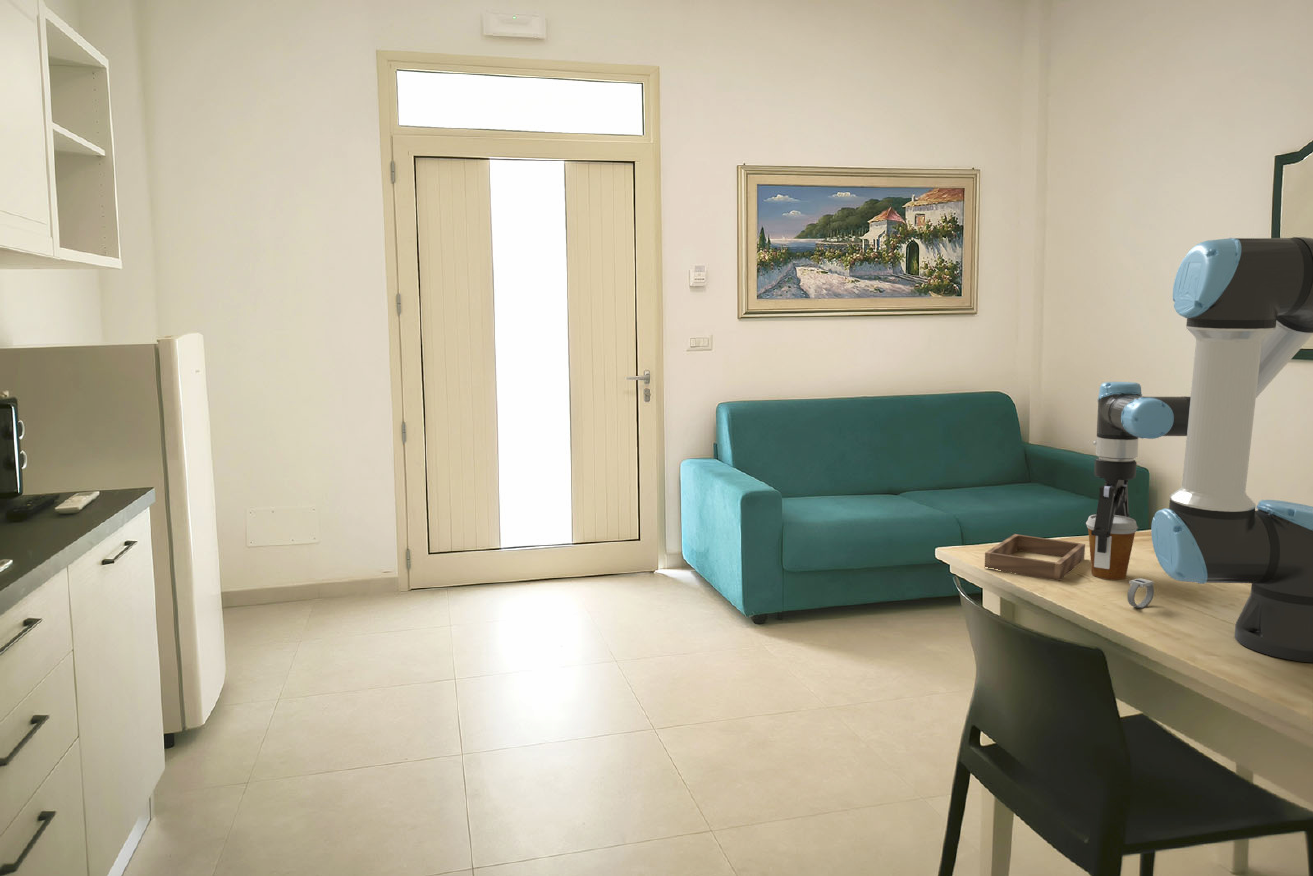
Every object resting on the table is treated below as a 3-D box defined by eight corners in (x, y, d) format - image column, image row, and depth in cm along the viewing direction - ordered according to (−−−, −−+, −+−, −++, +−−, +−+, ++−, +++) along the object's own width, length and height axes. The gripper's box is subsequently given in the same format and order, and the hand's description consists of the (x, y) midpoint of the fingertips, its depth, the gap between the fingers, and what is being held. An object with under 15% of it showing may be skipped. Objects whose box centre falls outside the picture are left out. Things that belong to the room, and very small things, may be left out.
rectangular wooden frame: (1059, 581, 179) (1060, 564, 178) (984, 568, 188) (985, 552, 188) (1084, 559, 194) (1085, 543, 194) (1013, 548, 204) (1014, 534, 203)
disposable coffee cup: (1130, 585, 176) (1134, 526, 174) (1078, 577, 181) (1081, 520, 180) (1138, 574, 183) (1142, 517, 181) (1088, 566, 189) (1091, 511, 187)
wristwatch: (1142, 602, 165) (1144, 576, 165) (1157, 606, 163) (1159, 580, 162) (1122, 607, 162) (1123, 581, 162) (1136, 612, 160) (1138, 585, 159)
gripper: (1109, 449, 191) (1103, 544, 194) (1080, 465, 172) (1074, 571, 174) (1148, 452, 186) (1142, 550, 189) (1122, 468, 167) (1116, 577, 170)
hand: (1109, 560), depth 182 cm, fingers open, 13 cm apart
